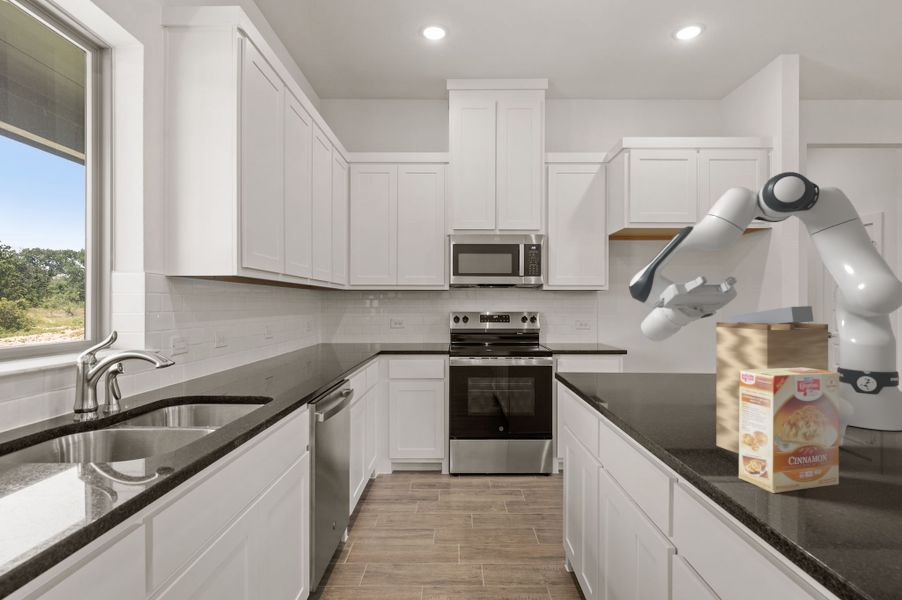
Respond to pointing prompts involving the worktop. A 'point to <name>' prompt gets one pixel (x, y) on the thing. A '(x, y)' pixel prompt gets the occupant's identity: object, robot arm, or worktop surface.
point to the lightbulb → (844, 417)
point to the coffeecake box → (789, 428)
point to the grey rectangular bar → (777, 316)
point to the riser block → (759, 362)
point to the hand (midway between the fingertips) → (719, 278)
